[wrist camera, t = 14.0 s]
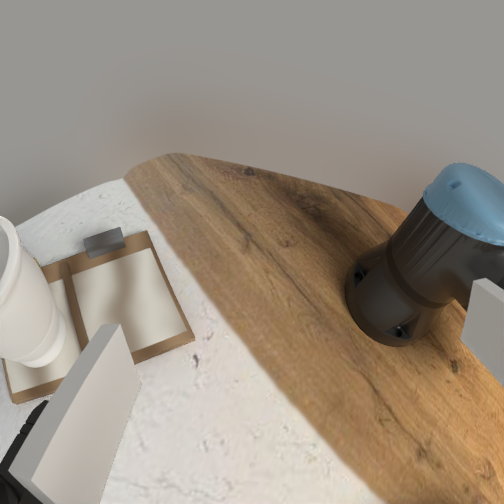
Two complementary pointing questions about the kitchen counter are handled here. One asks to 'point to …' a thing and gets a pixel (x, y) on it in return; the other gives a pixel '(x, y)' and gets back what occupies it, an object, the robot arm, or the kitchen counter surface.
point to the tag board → (106, 307)
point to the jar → (26, 306)
